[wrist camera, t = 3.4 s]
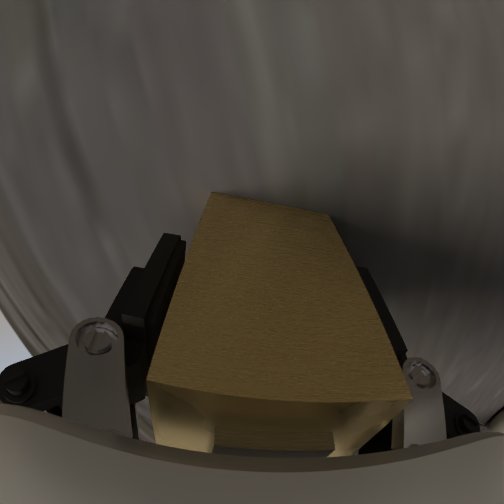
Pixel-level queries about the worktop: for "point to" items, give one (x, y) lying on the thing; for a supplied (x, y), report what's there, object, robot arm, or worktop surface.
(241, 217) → the tan hollow block
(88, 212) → the worktop surface
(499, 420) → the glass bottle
